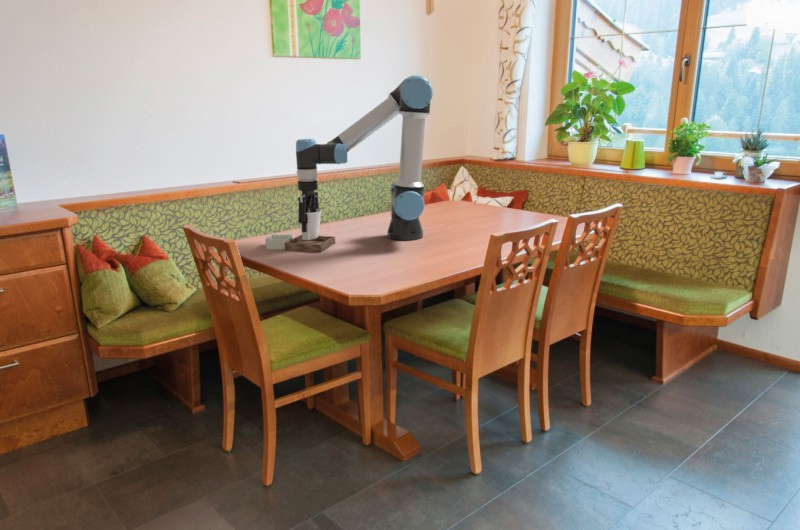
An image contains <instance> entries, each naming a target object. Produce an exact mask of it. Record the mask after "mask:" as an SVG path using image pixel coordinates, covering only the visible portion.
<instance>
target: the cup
mask: <svg viewBox="0 0 800 530" xmlns="http://www.w3.org/2000/svg"><path fill="white" fill-rule="evenodd" d="M295 212H296V213H297V214H296V215H297V217H298V216H299V209H297V210H295ZM321 213H322V209H321V208H319V209H316V212H313V213H310V209H309V213H306V214H307V216H308V222H307V223H309V240H310V239H316V238H317V237H318V236H319V232H320V231H319V230H320V223H321V215H322V214H321ZM298 224H299V227H300V233H301V234H302V225H301V224H300V223H299V222H298Z"/></svg>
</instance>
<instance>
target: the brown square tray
mask: <svg viewBox="0 0 800 530" xmlns="http://www.w3.org/2000/svg"><path fill="white" fill-rule="evenodd" d="M335 244H336V236H332V235H331V236H330V235H318V237H317V238H316V239H310V240H302V234H299V235H298V236H295V237H294V238H293V239H292V240H290V241H289V242H286V243H285V249H284V251H296V252H308V253H309V252H311V253H322V252H324V251H325V250H327V249H328V248H330V247H332V246H334V245H335Z"/></svg>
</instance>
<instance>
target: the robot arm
mask: <svg viewBox="0 0 800 530" xmlns="http://www.w3.org/2000/svg"><path fill="white" fill-rule="evenodd" d="M433 96H434V91H433V86H432V84H431V83H430V80H428V79H427V78H426V77H424V76H422V75H417V74H415V75H411V76H407V78H405V79H403V80H402V81H401V83H400V84H399V85H398V86H396V88H395V89H393V90H392V91H391V92H390V93H388V97H387V98H386V99H385V100H383V101H382V102H380V103H379V104H378V105H376V106H375V107H374V108H372V109H371V110H370V111H369V112H367V113H366V114H365V115H363V116H362V117H360V118H359V119H358V120H357V121H355V122H354V123H353V124H351V125H350V126H348V127H347V128H346V129H345V130H343V131H342V132H341V133H339V134H338V135H337V136H336V137H334V138H333V139H331V140H330V141H328V142H327V143H325V144H322V143H321V144H319V143H317V142H316V139H314V138H301V139H297V140H296V141H295V157H296V173H297V179H298V181H297V190H298V191H301V196H298V197H297V200H298V210H299V216H298V215H297V219H298V224H299V223H300V224H301V225H302V233H301V235H302V240H309V223H307V222H308V216H307V214H306V213H309V209H310V213H313V212H316V209H320V205H319V204H320V203H319V193H318V191H317V190H318V189H319V187H318V180H317V179H318V167H317V165H343V164H347V163H348V152H350V151H351V150H352V149H354V148H355V147H357V145H359V144H361V143H362V142H363V141H365V140H366V139H368V138H369V137H370V136H371V135H373V134H374V133H375V132H376V131H378V130H380V129H381V128H382V127H383V126H385V125H387V124H388V123H389V122H390V121H392V120H393V119H395V118H396V117H397V116H398V115H401V116H402V124H401V125H402V126H401V141H400V142H401V144H400V155H399V171H398V172H399V173H398V174H399V175H398V180H397V181H396V182H392V183H391V185H390V205H391V207H390V210H391V211H390V215H391V219H390V222H389V225H388V228H387V235H386V236H387V238H389V239H392V240H395V241H397V240H398V241H412V240H418V239H421V238H423V237H424V229H423V227H422V224H421V221H420V220H421V219H420V216H421V215H422V214H423V212H424V210H425V207H426V206H425V205H426V204H425V200H424V194H425V185H424V183H423V182H422V168H423V167H422V166H423V154H424V140H425V125H426V119H427V117H428V116H429V115H430V111H431V101H432V99H433ZM315 191H316V192H315ZM300 224H299V225H300Z"/></svg>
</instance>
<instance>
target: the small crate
mask: <svg viewBox="0 0 800 530" xmlns="http://www.w3.org/2000/svg"><path fill="white" fill-rule="evenodd" d="M293 237H294V236H293V234H291V233H290V234H289V233H287V234H284V233H282V234H279V233H278V234H275V233H274V234H272V233H271V234H269V235H268V236H267V237H266V238H265V239H264V240H265V241H264V242H265V249H266V250H267V251H268V250H285V243H286V242H289V241H290V240H292V239H294V238H293Z"/></svg>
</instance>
